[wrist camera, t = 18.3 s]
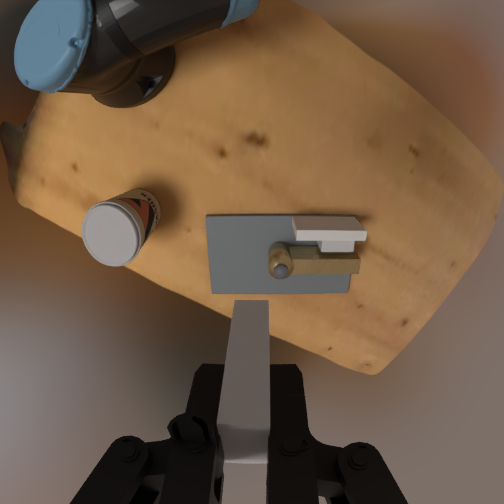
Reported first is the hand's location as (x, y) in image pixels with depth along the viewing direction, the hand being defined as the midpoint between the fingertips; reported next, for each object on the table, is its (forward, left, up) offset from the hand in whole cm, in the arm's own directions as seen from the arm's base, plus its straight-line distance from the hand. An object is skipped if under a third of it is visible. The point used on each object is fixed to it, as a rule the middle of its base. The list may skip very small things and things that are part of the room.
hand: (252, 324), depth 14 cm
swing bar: (+11, +8, -33) cm, 36 cm away
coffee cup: (+4, -20, -35) cm, 40 cm away
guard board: (+12, +3, -34) cm, 37 cm away
